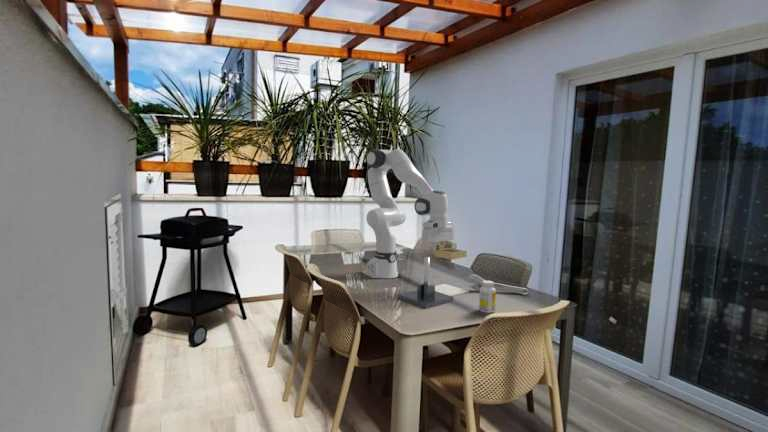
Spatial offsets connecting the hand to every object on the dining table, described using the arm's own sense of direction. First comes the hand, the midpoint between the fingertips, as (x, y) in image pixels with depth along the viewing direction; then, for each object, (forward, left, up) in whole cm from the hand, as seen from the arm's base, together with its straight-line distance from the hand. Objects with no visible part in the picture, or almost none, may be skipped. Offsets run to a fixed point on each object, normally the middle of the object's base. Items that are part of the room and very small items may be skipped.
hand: (438, 250), depth 212 cm
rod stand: (+10, -18, -20) cm, 29 cm away
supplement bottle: (+37, -8, -20) cm, 43 cm away
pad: (+6, 0, -20) cm, 21 cm away
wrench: (+22, +20, -20) cm, 36 cm away
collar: (+6, 0, -2) cm, 6 cm away
